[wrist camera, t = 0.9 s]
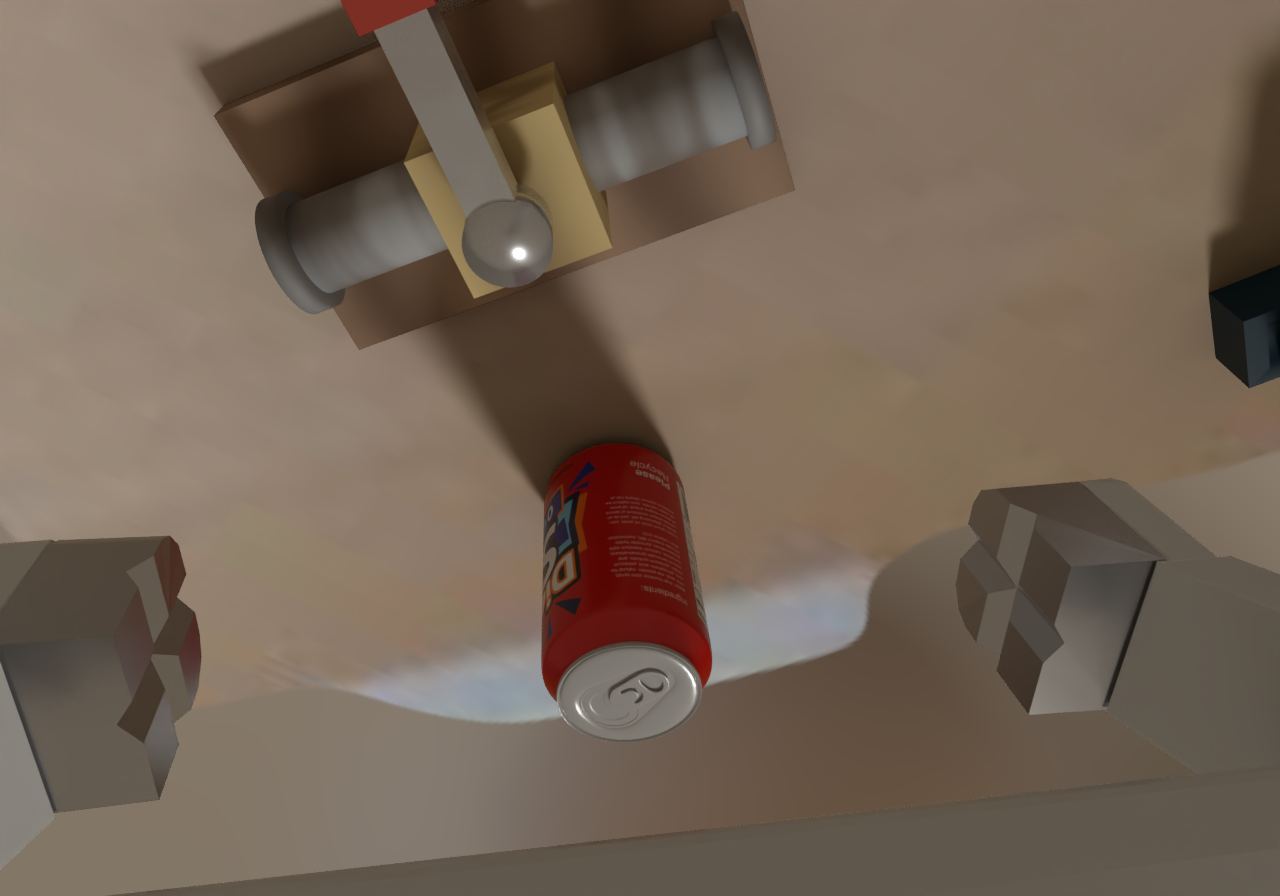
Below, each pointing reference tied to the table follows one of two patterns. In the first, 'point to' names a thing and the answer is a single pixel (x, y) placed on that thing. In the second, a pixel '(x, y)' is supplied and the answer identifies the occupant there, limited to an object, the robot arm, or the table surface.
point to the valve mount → (508, 151)
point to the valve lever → (462, 141)
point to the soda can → (621, 596)
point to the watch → (1249, 327)
